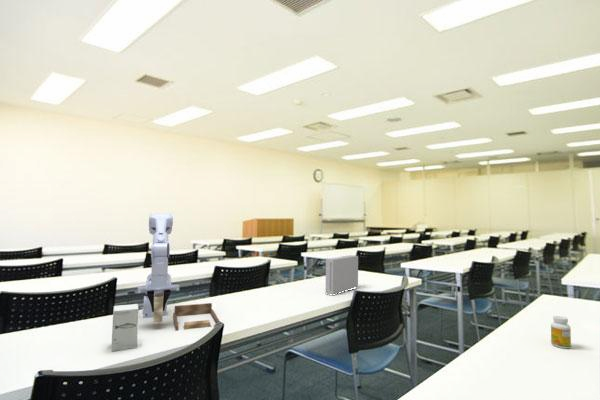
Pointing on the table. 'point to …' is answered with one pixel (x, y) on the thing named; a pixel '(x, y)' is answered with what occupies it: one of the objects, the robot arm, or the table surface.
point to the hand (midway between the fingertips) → (158, 310)
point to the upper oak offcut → (196, 324)
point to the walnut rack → (193, 311)
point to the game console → (341, 274)
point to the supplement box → (125, 327)
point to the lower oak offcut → (198, 327)
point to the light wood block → (158, 307)
